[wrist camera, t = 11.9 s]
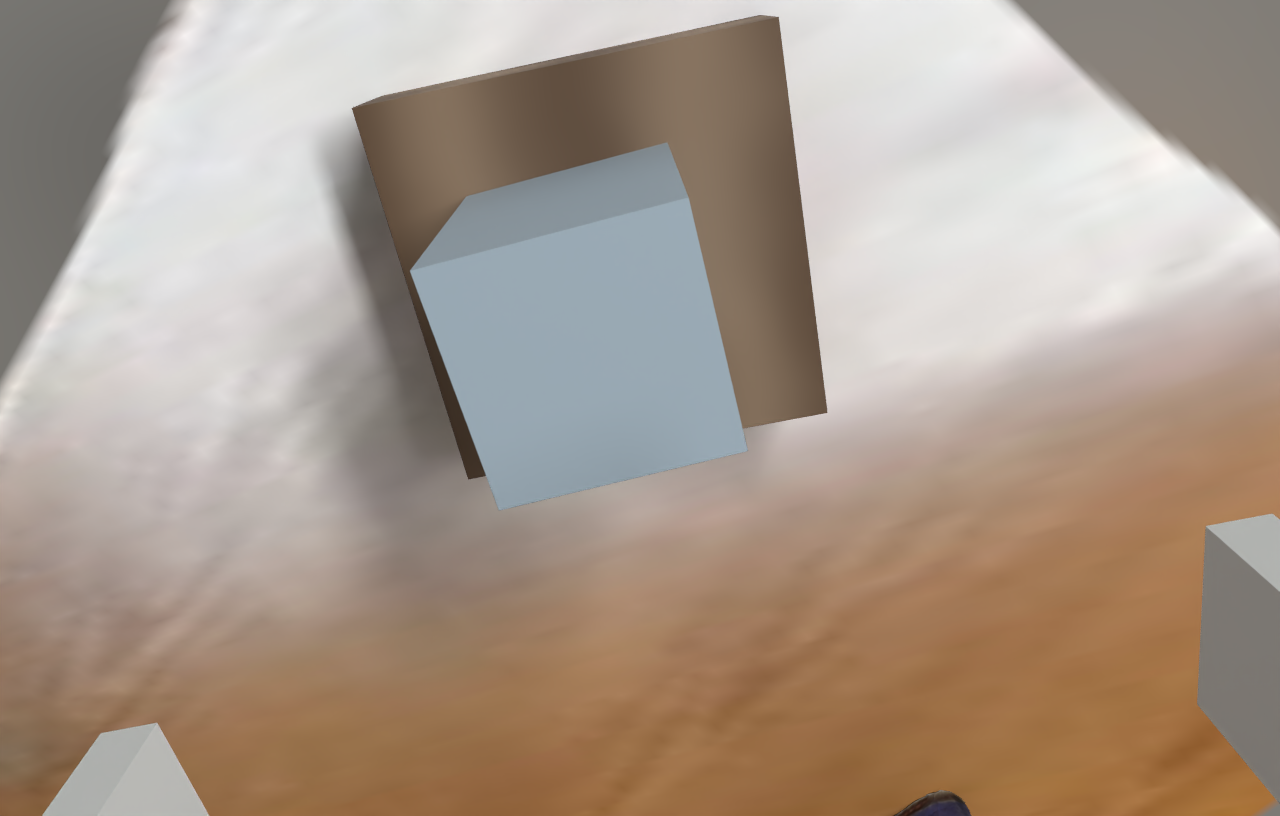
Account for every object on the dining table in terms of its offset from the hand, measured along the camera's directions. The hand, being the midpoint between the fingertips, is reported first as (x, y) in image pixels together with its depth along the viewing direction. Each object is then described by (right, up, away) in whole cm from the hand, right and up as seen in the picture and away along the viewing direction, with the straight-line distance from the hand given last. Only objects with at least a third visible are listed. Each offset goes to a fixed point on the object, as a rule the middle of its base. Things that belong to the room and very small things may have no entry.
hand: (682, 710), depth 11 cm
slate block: (-2, +8, +16) cm, 18 cm away
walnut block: (-2, +10, +19) cm, 22 cm away
